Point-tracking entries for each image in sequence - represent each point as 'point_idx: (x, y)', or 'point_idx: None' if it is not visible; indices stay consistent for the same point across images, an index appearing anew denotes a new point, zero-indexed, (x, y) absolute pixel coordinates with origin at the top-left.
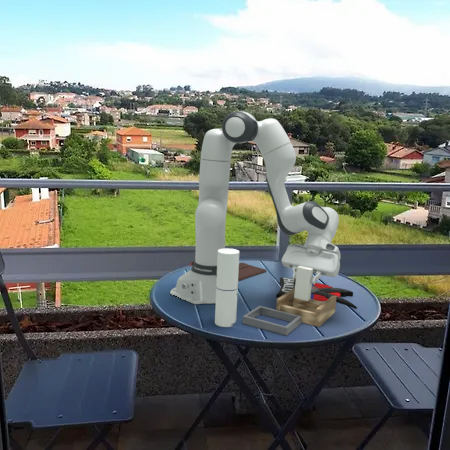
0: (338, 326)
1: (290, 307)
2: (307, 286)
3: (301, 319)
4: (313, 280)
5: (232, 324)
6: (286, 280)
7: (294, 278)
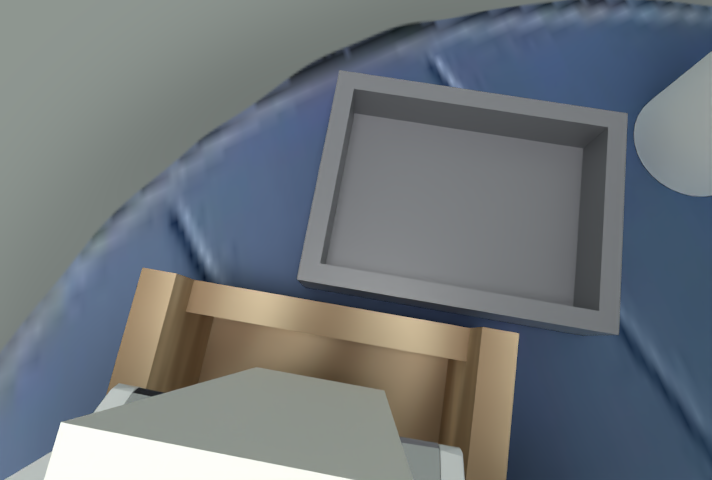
0: (93, 390)
1: (391, 326)
2: (231, 384)
3: (300, 281)
4: (114, 398)
5: (643, 112)
6: None
7: (421, 441)
